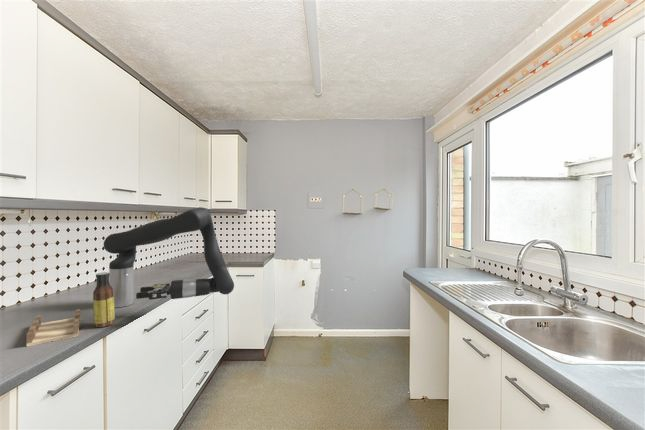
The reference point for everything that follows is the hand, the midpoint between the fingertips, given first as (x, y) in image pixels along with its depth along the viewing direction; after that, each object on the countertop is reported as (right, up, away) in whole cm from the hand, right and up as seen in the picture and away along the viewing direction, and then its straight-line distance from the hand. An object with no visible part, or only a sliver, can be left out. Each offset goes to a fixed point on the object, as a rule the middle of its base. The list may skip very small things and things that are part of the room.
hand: (138, 292), depth 112 cm
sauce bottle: (-10, -11, -4) cm, 16 cm away
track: (-23, -11, -11) cm, 27 cm away
